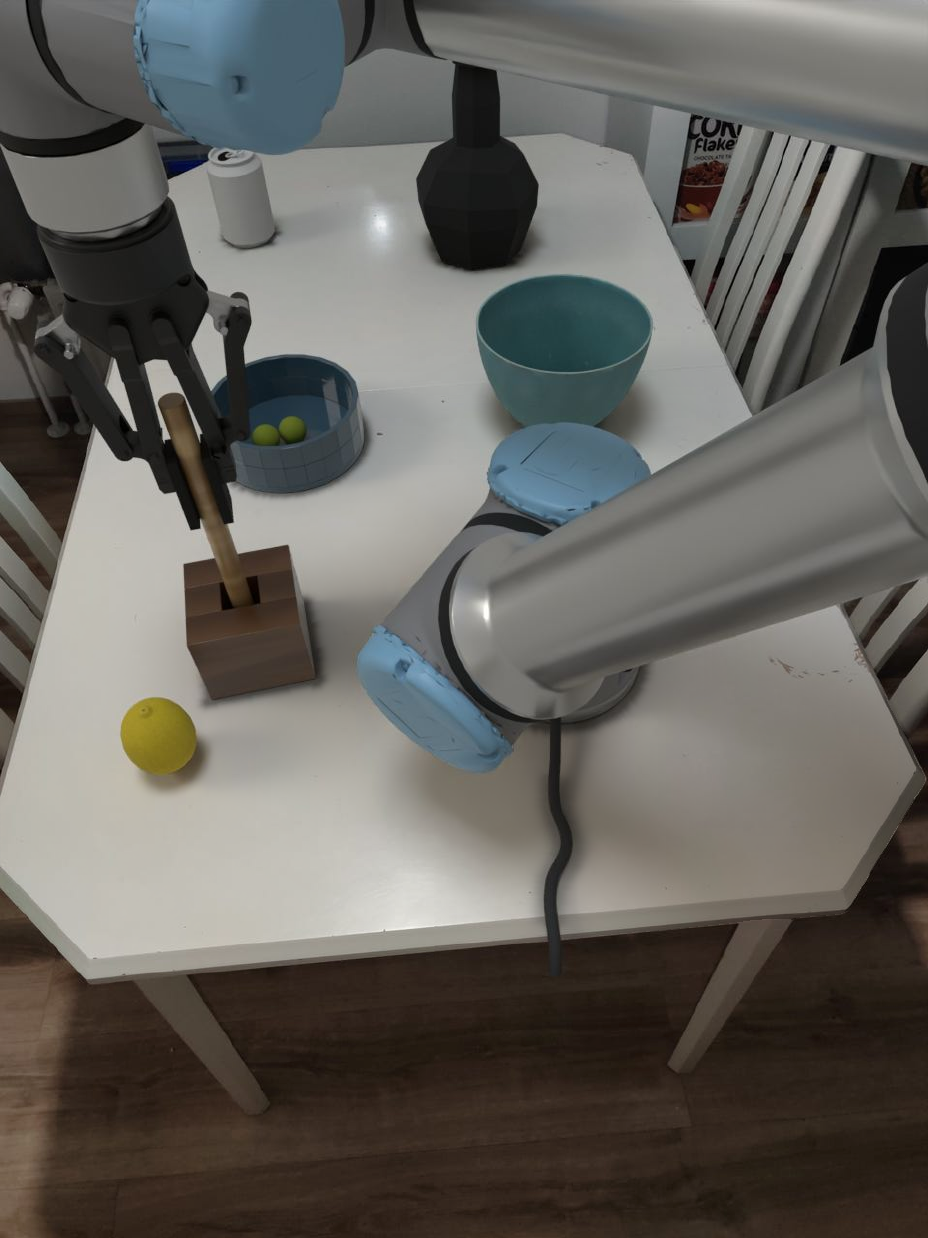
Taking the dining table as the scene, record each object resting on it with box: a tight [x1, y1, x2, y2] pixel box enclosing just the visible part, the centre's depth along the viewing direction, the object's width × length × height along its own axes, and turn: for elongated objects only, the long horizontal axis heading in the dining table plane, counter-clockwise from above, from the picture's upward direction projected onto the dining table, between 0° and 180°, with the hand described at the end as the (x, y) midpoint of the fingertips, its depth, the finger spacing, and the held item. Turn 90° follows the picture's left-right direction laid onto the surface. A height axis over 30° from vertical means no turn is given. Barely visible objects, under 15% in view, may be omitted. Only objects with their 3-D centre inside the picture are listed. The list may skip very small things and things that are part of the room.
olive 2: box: [279, 416, 307, 444], centre depth 95 cm, size 3×3×3 cm
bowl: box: [210, 353, 365, 494], centre depth 95 cm, size 16×16×6 cm
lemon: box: [119, 696, 198, 776], centre depth 69 cm, size 6×6×8 cm
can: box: [205, 147, 276, 249], centre depth 121 cm, size 8×8×12 cm
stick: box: [157, 392, 255, 609], centre depth 66 cm, size 2×2×22 cm
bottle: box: [415, 60, 540, 272], centre depth 110 cm, size 16×16×30 cm
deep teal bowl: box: [475, 273, 654, 428], centre depth 94 cm, size 18×18×12 cm
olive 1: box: [252, 424, 280, 446], centre depth 94 cm, size 3×3×3 cm
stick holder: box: [182, 544, 316, 700], centre depth 76 cm, size 9×9×8 cm
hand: (211, 513), depth 66 cm, fingers closed on stick, 2 cm apart
